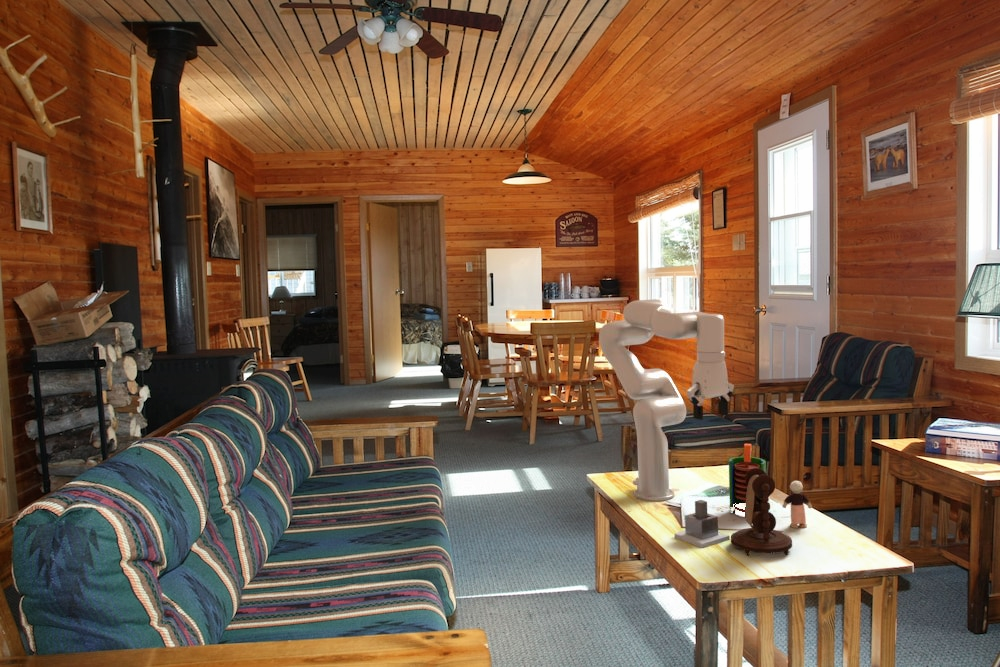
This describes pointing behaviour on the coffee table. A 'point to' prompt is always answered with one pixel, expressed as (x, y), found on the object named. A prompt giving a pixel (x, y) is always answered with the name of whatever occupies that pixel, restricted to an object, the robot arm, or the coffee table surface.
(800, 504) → the grandmother figurine
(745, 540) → the dark brown upright piece
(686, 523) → the grey square holed block
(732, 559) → the coffee table surface
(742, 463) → the motor
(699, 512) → the shaft block
